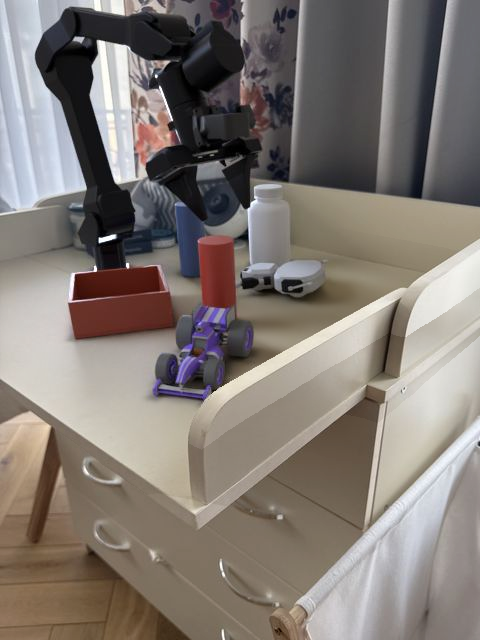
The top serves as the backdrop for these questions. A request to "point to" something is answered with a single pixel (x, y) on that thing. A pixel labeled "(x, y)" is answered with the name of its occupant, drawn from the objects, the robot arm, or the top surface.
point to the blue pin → (188, 239)
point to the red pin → (217, 271)
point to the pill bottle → (269, 226)
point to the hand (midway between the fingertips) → (227, 214)
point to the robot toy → (284, 277)
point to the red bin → (119, 301)
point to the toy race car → (203, 350)
